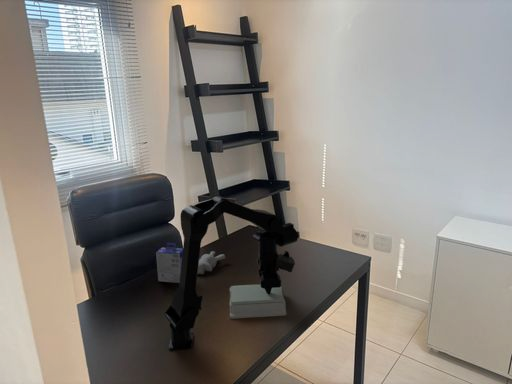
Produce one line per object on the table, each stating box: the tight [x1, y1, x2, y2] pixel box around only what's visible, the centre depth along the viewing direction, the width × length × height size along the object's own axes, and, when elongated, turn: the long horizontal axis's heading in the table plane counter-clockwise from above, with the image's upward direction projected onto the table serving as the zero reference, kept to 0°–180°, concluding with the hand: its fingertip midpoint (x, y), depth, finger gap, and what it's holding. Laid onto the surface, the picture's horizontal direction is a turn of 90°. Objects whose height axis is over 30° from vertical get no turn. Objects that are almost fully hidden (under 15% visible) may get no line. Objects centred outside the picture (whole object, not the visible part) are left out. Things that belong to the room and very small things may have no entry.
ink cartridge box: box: [155, 242, 183, 284], centre depth 142 cm, size 10×6×14 cm, turn 78°
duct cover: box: [230, 284, 285, 305], centre depth 124 cm, size 10×17×1 cm, turn 94°
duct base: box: [229, 286, 287, 319], centre depth 126 cm, size 16×18×4 cm
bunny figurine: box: [197, 250, 226, 275], centre depth 152 cm, size 10×5×15 cm
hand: (268, 293), depth 124 cm, fingers closed, pressing on duct cover
